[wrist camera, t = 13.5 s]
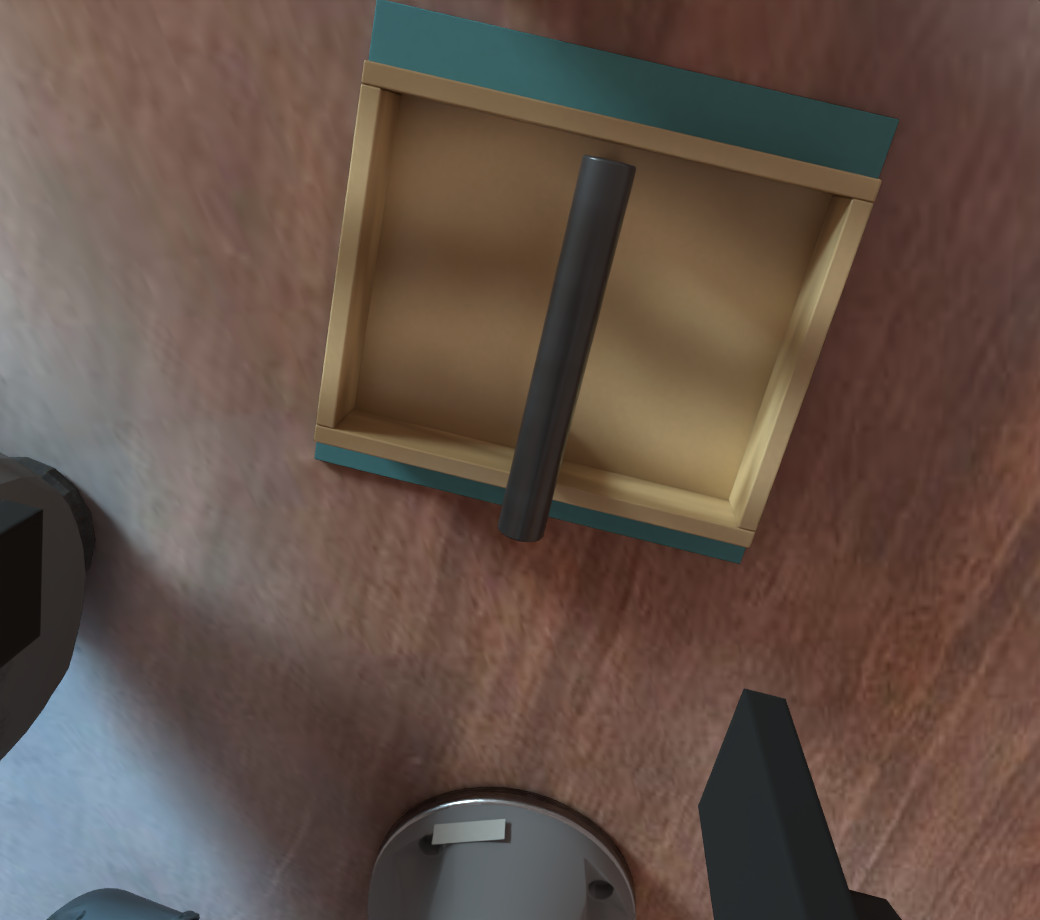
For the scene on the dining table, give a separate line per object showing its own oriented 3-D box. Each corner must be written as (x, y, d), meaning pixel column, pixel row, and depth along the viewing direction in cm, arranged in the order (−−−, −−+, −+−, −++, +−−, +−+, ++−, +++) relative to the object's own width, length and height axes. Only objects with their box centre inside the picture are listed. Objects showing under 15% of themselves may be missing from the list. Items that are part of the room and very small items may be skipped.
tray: (737, 511, 38) (783, 646, 28) (342, 414, 39) (239, 510, 28) (852, 177, 33) (965, 186, 22) (392, 70, 33) (287, 29, 23)
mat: (739, 561, 39) (739, 564, 39) (316, 456, 40) (314, 458, 40) (897, 119, 32) (899, 119, 32) (378, -1, 33) (376, -2, 32)
